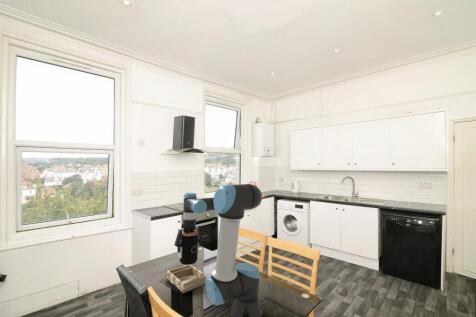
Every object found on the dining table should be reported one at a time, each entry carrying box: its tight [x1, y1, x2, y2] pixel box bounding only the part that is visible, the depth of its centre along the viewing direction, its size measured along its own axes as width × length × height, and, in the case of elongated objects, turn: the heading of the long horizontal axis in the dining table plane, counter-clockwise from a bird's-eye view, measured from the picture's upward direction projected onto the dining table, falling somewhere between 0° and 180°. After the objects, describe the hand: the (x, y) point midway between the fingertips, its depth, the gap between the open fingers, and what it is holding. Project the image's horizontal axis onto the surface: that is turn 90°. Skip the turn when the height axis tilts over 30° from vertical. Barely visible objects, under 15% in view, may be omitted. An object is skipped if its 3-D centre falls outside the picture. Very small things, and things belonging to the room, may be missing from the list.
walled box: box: [166, 264, 208, 294], centre depth 144 cm, size 20×16×5 cm
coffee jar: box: [179, 229, 199, 266], centre depth 142 cm, size 11×11×18 cm
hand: (188, 255), depth 142 cm, fingers closed on coffee jar, 11 cm apart
